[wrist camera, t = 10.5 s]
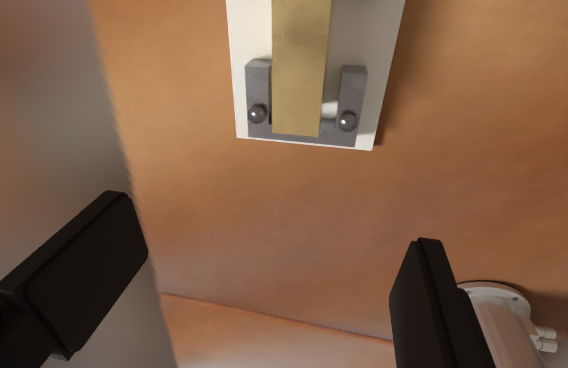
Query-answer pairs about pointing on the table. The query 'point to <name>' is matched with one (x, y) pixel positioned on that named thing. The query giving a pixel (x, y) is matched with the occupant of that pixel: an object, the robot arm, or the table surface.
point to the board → (342, 51)
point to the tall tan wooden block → (299, 64)
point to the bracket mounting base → (331, 130)
